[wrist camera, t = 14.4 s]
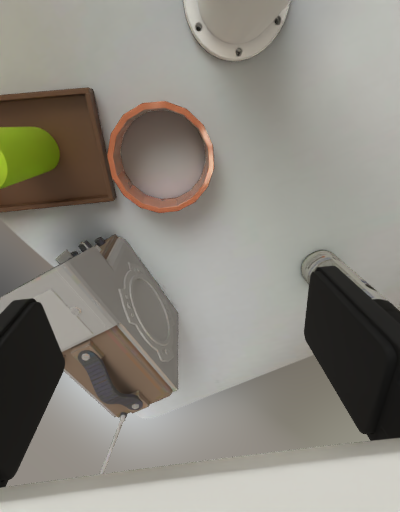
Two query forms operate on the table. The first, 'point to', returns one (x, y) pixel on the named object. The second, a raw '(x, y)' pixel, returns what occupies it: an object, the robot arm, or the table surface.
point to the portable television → (109, 326)
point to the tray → (70, 146)
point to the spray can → (330, 259)
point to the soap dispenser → (25, 154)
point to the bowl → (124, 181)
